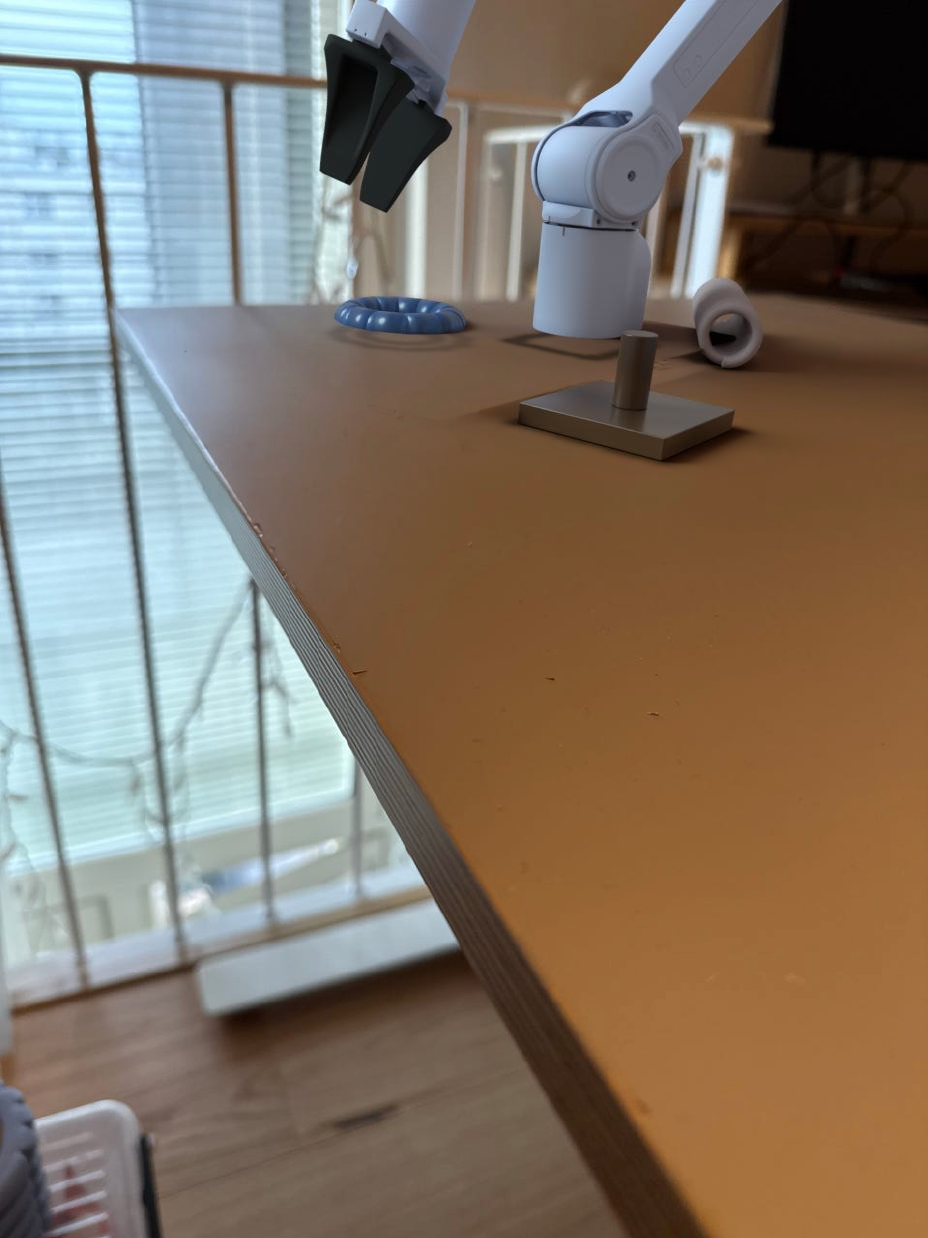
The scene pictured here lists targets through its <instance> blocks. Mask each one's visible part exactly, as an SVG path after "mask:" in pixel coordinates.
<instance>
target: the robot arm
mask: <svg viewBox="0 0 928 1238" xmlns="http://www.w3.org/2000/svg"><path fill="white" fill-rule="evenodd" d="M782 1H783V0H685V1H684V2H683V3H682V4H681V5H680V6H679V8H678V9H677V11H676V12H675V13H674V14H673V15H672V17H671V18H670V19H669V20H668V22H667V23H666V24H665V25H664V27H663V28H662V29H661V31H659V33H658V34H657V35H656V37H655V38H654V39H653V40H652V41H651V43H650V44H649V45H648V46H647V47H646V49H645V50H644V51H643V53H642V54H641V55H640V56H639V58H638V59H637V60H636V61H635V62H634V63H633V65H632V66H631V68H630V69H629V70H628V71H627V72H626V74H625V75H624V76H623V77H622V78H621V80H620V81H619V82H617V83H615V85H613V86H612V87H610V88H608V89H607V90H605V91H604V92H602V93H600V94H599V95H597V96H596V97H594V98H592V99H591V100H589V101H587V102H586V103H585V104H584V105H583V106H582V107H581V109H580V110H579V111H578V112H577V113H576V115H574V117H572V118H571V119H570V120H568V121H567V122H565V123H561V124H559V125H556V126H555V127H553V128H552V129H550V130H549V131H548V132H547V133H546V134H544V136H543V137H542V138H541V139H540V140H539V143H538V144H537V146H536V148H535V150H534V152H533V156H532V160H531V165H530V166H531V167H530V176H531V184H532V187H533V190H534V193H535V196H536V197H537V198H538V200H539V201H540V203H541V204H542V211H541V218H542V220H543V222H542V223H541V224H542V226H541V233H540V234H541V235H540V246H539V255H538V257H539V258H538V266H537V275H536V276H537V277H536V287H535V298H534V306H533V307H534V308H533V318H532V328H533V329H534V330H537V331H539V332H542V333H546V334H550V335H553V336H560V337H569V338H575V339H577V338H578V339H591V340H592V339H593V340H594V339H597V340H599V339H604V340H605V339H615V338H619V337H621V334H622V331H625V330H642V329H643V326H644V325H643V324H644V319H645V312H646V311H645V310H646V304H647V298H648V290H649V286H650V285H649V284H650V278H651V272H652V254H651V249H650V247H649V244H648V243H647V240H646V238H645V237H644V236H643V235H642V233H640V232H639V231H638V230H642V226H643V220H644V217H645V216H646V215H647V214H648V213H650V211H651V210H652V209H653V208H654V207H655V205H656V203H657V202H658V201H659V199H660V196H661V194H662V192H663V189H664V185H665V182H666V179H667V176H668V175H669V172H670V170H671V168H672V167H673V166H674V164H675V163H676V162H677V160H678V159H679V158H680V156H681V155H682V154H683V151H684V148H683V141H682V136H681V133H680V132H681V131H680V128H679V127H680V126H681V125H682V124H683V122H684V121H685V120H686V118H687V117H688V116H689V115H690V113H691V112H692V111H693V110H694V109H695V107H697V105H698V104H699V102H700V101H701V100H702V99H703V98H704V97H705V95H706V94H707V93H708V92H709V90H710V89H711V88H712V86H713V85H714V84H715V83H716V82H717V81H718V79H719V78H720V77H721V75H723V73H724V72H725V71H726V70H727V68H728V67H729V66H730V65H731V63H732V62H733V61H734V59H735V58H737V56H738V55H739V53H740V52H741V51H742V50H743V49H744V48H745V46H746V45H747V44H748V43H749V41H750V40H751V39H752V38H753V36H754V35H755V34H756V33H757V32H758V30H759V29H760V28H761V27H762V25H763V24H764V23H765V22H766V20H767V19H768V18H769V17H770V16H771V15H772V13H773V12H774V11H775V10H776V8H777V7H778V6H779V5H780V4H781V2H782ZM476 3H477V0H376V2H374V1H371V0H355V1H354V3H353V6H352V9H351V12H350V14H349V17H348V20H347V23H346V26H345V28H344V30H345V32H346V34H347V37H348V38H349V39H350V40H349V39H347V38H344V37H342V36H339V35H338V34H334V33H328V34H327V36H326V39H325V42H324V44H323V53H324V61H325V70H326V107H325V108H326V109H325V117H324V127H323V133H322V134H323V135H322V141H321V148H320V158H319V168H318V169H319V170H318V171H319V172H320V173H321V174H322V175H325V176H327V177H330V178H332V179H334V180H336V181H338V182H340V183H343V184H344V185H347V186H349V187H351V185H352V184H353V182H355V180H356V178H357V177H358V176H359V174H360V172H361V171H362V168H363V166H364V164H365V162H366V164H365V167H364V172H363V176H362V180H361V183H360V190H359V201H360V202H361V203H362V204H365V205H368V206H369V207H371V208H374V209H376V210H378V211H381V212H383V213H385V214H387V213H388V212H389V211H390V209H391V208H392V207H393V206H394V204H395V203H396V201H397V200H398V198H399V196H400V195H401V194H402V192H403V190H404V189H405V188H406V186H407V184H408V183H409V182H410V181H411V179H412V177H413V176H414V174H415V173H416V171H417V170H418V169H419V167H421V165H422V164H423V163H424V162H425V161H426V159H427V158H428V157H429V156H430V155H432V153H434V151H436V150H437V149H438V148H439V147H440V146H441V145H443V144H444V143H445V142H447V140H449V137H450V135H451V133H452V130H453V126H452V124H451V123H450V122H449V121H448V119H447V118H445V117H442V114H443V111H444V109H445V106H446V105H447V101H448V99H449V95H448V93H447V92H446V91H447V90H446V89H447V87H448V84H449V82H450V79H451V73H452V72H451V70H450V69H451V67H452V64H453V62H454V59H455V56H456V54H457V52H458V49H459V46H460V44H461V41H462V38H463V36H464V34H465V31H466V28H467V25H468V22H469V20H470V18H471V15H472V12H473V10H474V7H475V5H476ZM366 160H367V161H366Z"/></svg>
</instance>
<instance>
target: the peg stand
mask: <svg viewBox="0 0 928 1238" xmlns="http://www.w3.org/2000/svg"><path fill="white" fill-rule="evenodd" d="M658 340H659V334H658V333H655V332H651V331H649V330H648V331H647V330H642V329H640V330H625V331H622V334H621V336H620V341H619V350H618V356H617V363H616V369H615V370H616V371H615V376H614V377H615V378H614V381H613V382H612V381H609V380H603V379H599V380H595V381H591V382H588V383H585V384H580V385H577V386H574V387H570V388H567V389H563V390H559V391H556V392H551V393H549V394H544V395H542V396H541V395H540V396H537V397H534V398H529V399H526V400H523V401H520V402H519V405H518V416H517V417H518V418H517V423H518V424H520V425H523V426H528V427H531V428H536V429H540V430H544V431H547V432H550V433H554V434H558V435H562V436H566V437H570V438H573V439H576V440H581V441H585V442H588V443H593V444H597V445H599V446H604V447H607V448H611V449H616V450H619V451H622V452H627V453H631V454H634V455H638V456H642V457H645V458H649V459H653V460H657V461H663V460H666V459H668V458H670V457H673V456H674V455H677V454H679V453H682V452H683V451H686V450H689V449H690V448H692V447H695V446H698V445H700V444H702V443H704V442H706V441H709V440H711V439H712V438H715V437H717V436H720V435H722V434H724V433H726V432H728V431H730V430H732V427H733V422H734V417H735V411H736V410H735V409H734V408H729V407H725V406H721V405H716V404H711V403H707V402H702V401H698V400H693V399H690V398H689V399H688V398H685V397H680V396H675V395H672V394H671V395H670V394H666V393H661V392H657V391H653V390H651V386H652V380H653V372H654V367H655V360H656V355H657V347H658V342H659V341H658Z"/></svg>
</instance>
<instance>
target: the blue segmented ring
mask: <svg viewBox="0 0 928 1238" xmlns="http://www.w3.org/2000/svg"><path fill="white" fill-rule="evenodd" d="M333 315H334V316H333V319H334V320H335V321H337V322H338V323H339V324H341V325H342V326H345V327H351V328H355V329H359V330H360V329H361V330H365V331H368V332H379V333H380V332H381V333H388V334H399V335H400V334H402V335H441V334H442V335H443V334H447V333H448V334H449V333H455V332H459V331H460V332H461V331H462V330H464V329H465V327H466V326H467V318H466V316H465V314H464V313H463V311H462V310H461V309H459V308H458V307H456V306H453V305H451V304H449V303H446V302H442V301H437V300H432V299H427V298H419V297H408V296H407V297H406V296H396V295H395V296H392V295H391V296H390V295H389V296H388V295H387V296H383V295H382V296H381V295H380V296H379V295H373V296H371V295H370V296H363V297H354V298H349V299H348V300H346V301H344V302H342V303H341V304H339V305H338V306H337V308H336V309H335V311H334V314H333Z"/></svg>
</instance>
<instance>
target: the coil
mask: <svg viewBox="0 0 928 1238" xmlns="http://www.w3.org/2000/svg"><path fill="white" fill-rule="evenodd" d="M691 311H692V312H691V313H692V317H693V321H694V327H695V332H696V336H697V341H698V346H699V348H700V351H701V352H702V354H703V355H704V357H705V358H706V359H708V361H711V362H712V363H714V364H716V365H719V366H721V368H722V369H734V368H737V367H740V366H743V365H744V364H746V363H747V362H749V361H750V360H751V359H752V358H753V357H755V355H756V354H757V353H758V352H759V349H760V348H761V345H762V343H763V337H764V327H763V324H762V320H761V318H760V316H759V314H758V313H757V311H756V310H755V308H754V306H753V305H752V303H751V301H750V300H749V298H748V296H747V295H746V294H745V292H744V290H743V289H742V286H741V285H739V284H738V283H737V282H736V281H734V280H733V279H731V278H727V277H714V278H711V279H709V280H707V281H706V282H705V281H704V283H703V284H701V285H700V286H699V288H697V290H696V292H695V293H694V296H693V299H692V302H691ZM731 314H732V315H731ZM725 315H731V317H729V318H728V319H727V320H725V321H724V320H720V321H716V320H719V318H721V317H723V316H725ZM710 332H712V333H717V334H722V335H723V334H724V335H729V336H734V338H735V339H733V340H729V341H726V342H723V343H719V344H716V345H713V344H712V340H711V337H710Z"/></svg>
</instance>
